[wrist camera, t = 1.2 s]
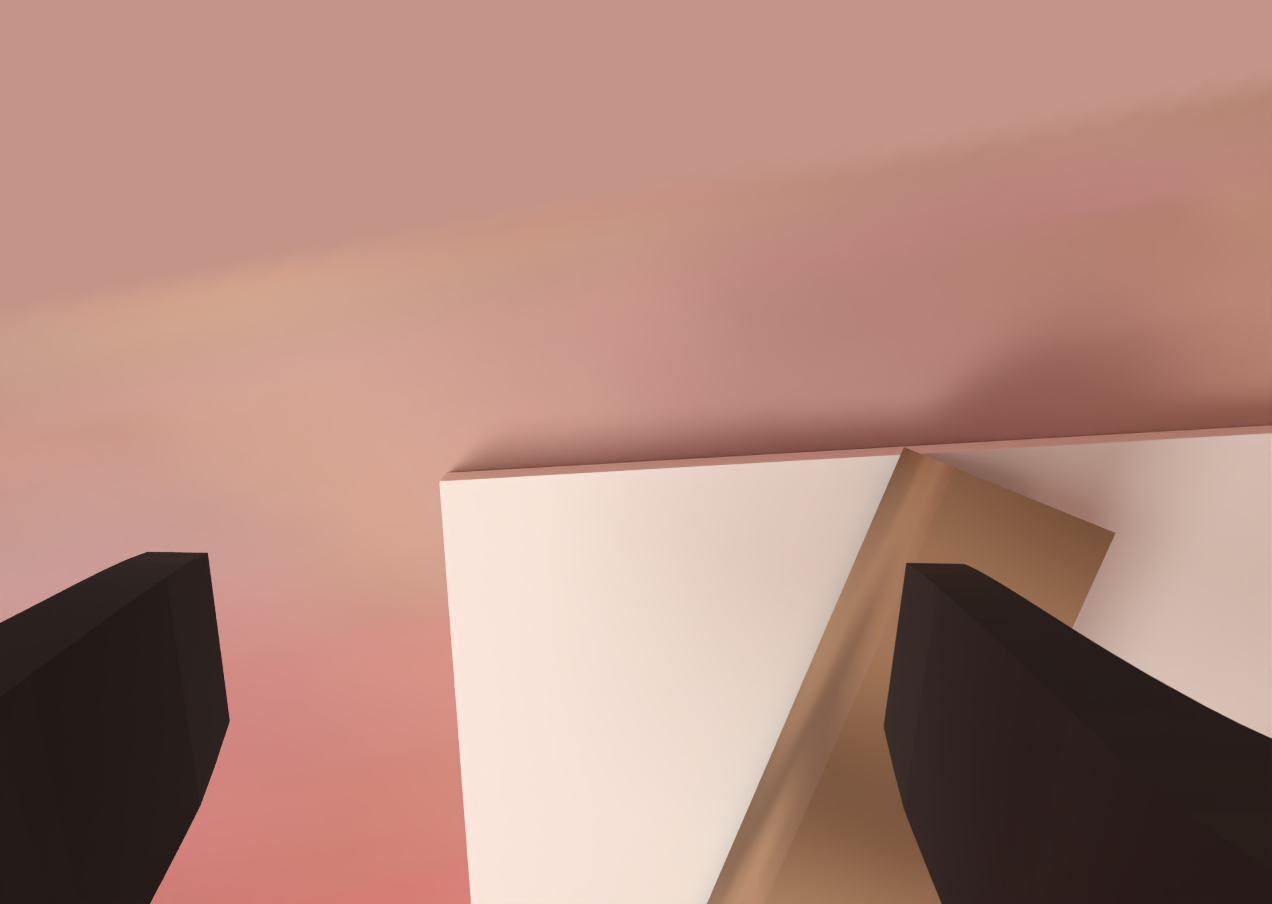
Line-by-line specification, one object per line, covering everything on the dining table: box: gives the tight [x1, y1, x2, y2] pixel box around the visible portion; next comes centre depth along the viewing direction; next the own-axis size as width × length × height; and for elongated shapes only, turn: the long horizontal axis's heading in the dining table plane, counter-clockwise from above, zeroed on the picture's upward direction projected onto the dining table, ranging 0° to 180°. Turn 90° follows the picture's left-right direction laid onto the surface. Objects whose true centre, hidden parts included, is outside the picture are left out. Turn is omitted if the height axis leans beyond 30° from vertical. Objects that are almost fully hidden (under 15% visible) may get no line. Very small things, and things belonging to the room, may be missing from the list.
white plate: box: [439, 425, 1272, 904], centre depth 23 cm, size 17×23×1 cm
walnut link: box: [707, 447, 1115, 904], centre depth 20 cm, size 15×4×3 cm, turn 158°
